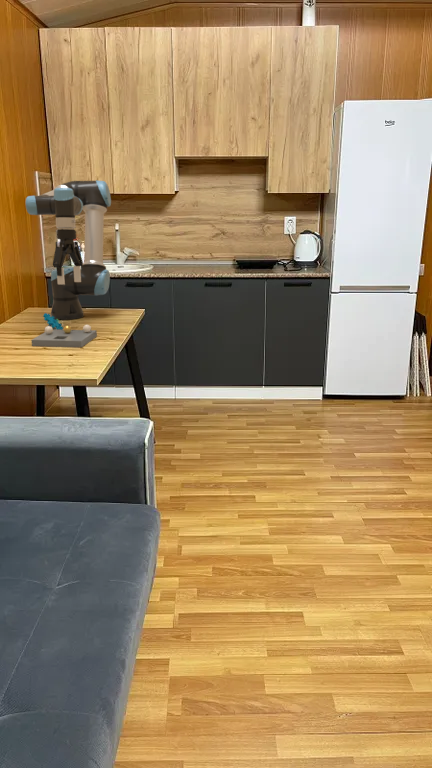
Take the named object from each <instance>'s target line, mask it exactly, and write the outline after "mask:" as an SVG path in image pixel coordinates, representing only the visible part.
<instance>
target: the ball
mask: <svg viewBox="0 0 432 768" xmlns="http://www.w3.org/2000/svg"><path fill="white" fill-rule="evenodd" d="M62 330H64V332H65V333H70V332H71V330H73V329H72V327H71V325H66V324H65V326H63V329H62Z"/></svg>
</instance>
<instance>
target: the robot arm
mask: <svg viewBox="0 0 432 768" xmlns="http://www.w3.org/2000/svg"><path fill="white" fill-rule="evenodd" d="M111 204H112V198H111V192H110V189H109V186H108V183H107V182H106V181H104V180H97V179H96V180H71V181H67V182H64V183H61V184H59V185H56V186H55V187H54V188H53V190H50V191H47V192H45V193H42V194H40V195H28V196H27V197H26V198H25V209H26V212H27V213H28V214H29V215H31V216H44V215H45V216H50V215H51V216H52V215H53V216H54V215H55V227H56V229H57V230H56V239H57V240H60V241H55V249H54V255H53V259H52V266H53V268H55V269H53V270H52V271H51V272H50V282H51V290H52V299H53V300H52V301H53V302H52V307H51V311H50V315H51V316H50V317H52V316H53V317H54V319H55V320H56V319H61V320H64V321H68V320H77V319H81V318H83V317H84V310H83V308H82V305H81V302H80V300H79V296H103V295H106V294H107V293H108V290H109V288H110V282H111V280H110V279H111V277H110V275H111V274H110V271H109V270H108V269H107V266H106V265H105V264H104V224H105V223H104V221H105V220H104V219H105V217H104V215H105V214H106V213H107V211H108V208H109V207H111ZM82 211H83V212H84V257H83V258H84V259H82V255H81V252H80V248H79V242H78V241H75V240H76V239H77V230H76V222H77V221H76V216H77V215H80V214H81V213H82ZM67 255H69V257H70V259H71V261H72V262H73V266H67V267H63V265H64V263H65V260H66V257H67ZM83 260H84V261H83ZM61 320H60V321H61Z"/></svg>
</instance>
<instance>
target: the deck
mask: <svg viewBox="0 0 432 768" xmlns="http://www.w3.org/2000/svg"><path fill="white" fill-rule="evenodd" d="M96 337H98V331H97V330H95V329H91V331H90V332H88V333H86V332H84V330H83V329H72V330H71V332H70V333H65V332H64V330H63V329H62V330H56V328H53V332H52V333H51V334H47V333H46V332H45V331H44V332H43V333H41V334H39V335H38V336H36V337H34V338H32V339H30V340H31V341H30V342H31V347H50V348H51V347H53V348H54V347H55V348H83V347H84V346H87V344H88V343H90V342H92V341H93V340H94V339H96Z"/></svg>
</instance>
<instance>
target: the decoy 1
mask: <svg viewBox="0 0 432 768" xmlns="http://www.w3.org/2000/svg"><path fill="white" fill-rule="evenodd" d="M53 329H54V328H52V327H50V326H48V325H47V326H45V328H44V332H46V333H47V334H51V333H52V332H53Z"/></svg>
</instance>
